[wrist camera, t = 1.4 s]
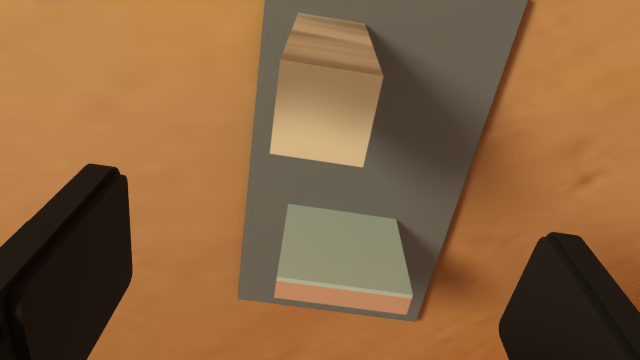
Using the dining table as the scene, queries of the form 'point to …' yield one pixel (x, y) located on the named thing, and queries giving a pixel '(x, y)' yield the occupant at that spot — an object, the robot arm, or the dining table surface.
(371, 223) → the tile
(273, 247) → the mat
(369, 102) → the light wood block
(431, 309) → the dining table surface
